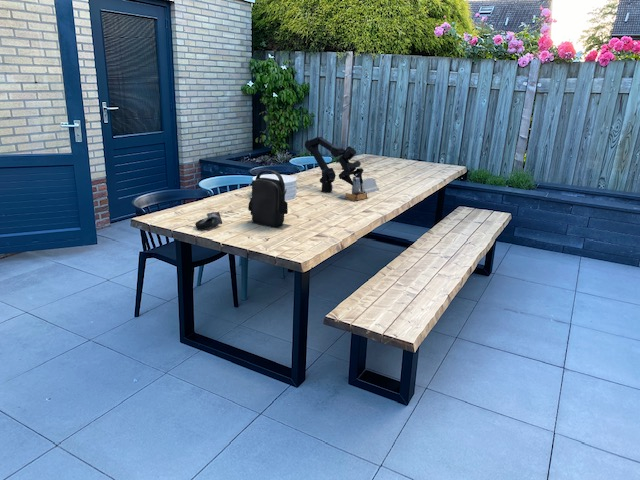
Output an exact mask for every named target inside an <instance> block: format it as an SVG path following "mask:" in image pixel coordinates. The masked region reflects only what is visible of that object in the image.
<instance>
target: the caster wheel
mask: <svg viewBox="0 0 640 480" xmlns="http://www.w3.org/2000/svg"><path fill="white" fill-rule="evenodd" d="M206 216H207V217H204V218H202V219H200V220H198V221H196V222H195V225H194V226H195V228H196V230H199V231H203V230H207V229H208V230H214V229H216V228H217V227H218V226H219V225H223V224H224V223H223V220H222V217H221V214H220V212H219V211H215V212H209V213H206Z"/></svg>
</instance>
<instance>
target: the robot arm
mask: <svg viewBox="0 0 640 480" xmlns="http://www.w3.org/2000/svg"><path fill="white" fill-rule="evenodd" d="M319 145H320V146H321V147H323V148H324V149H326V150H327V151H328V152H329V153H330V154H331V155H332V156H333V157H334V158H336V161H335V163H336V164H340V166H341V170H342V171H341V172H340V173H339V174H338V178H339V179H340V180H342V181H344V182H346V183H347V184H349V185H351V187H352V186H353V185H354V184H353V182H352V181H353V179H352V178H351V176H352V175H353V177H360V183H361V184H362V183H363V177H362V175H363V173H364V171H365V170H364V169H363V168H362V167H361V161H360V160H355V162H350V160H351V159H353V158H355V156H356V154H357V150H356V149H354V148H353V147H352V146H350V145H349V146H347V148H346V149H344V148H343V147H341V146H338V145H334V144H333V143H331V142H330V141H328V140H326V138H324V137H323V136H318V137H317V136H315V138H311V139H307V140H306V141H305V142H304V147H305V148H306V150H307V151H308V152H309V153H311V154H312V156H313V158H314V160H315V162H316V163H317V165H318V166H319V169H320V170H321V177H320V179H319V183H321V191H320V192H321V193H328V194H329V193H332V191H333V184H332V183H334V182H335V179H336V176H337V175H336V172H335V170H334V168H332V167H329V166H328V164H327V163H326V161H325V159H324V157H323V155H322V154H321V152H320V150H319Z"/></svg>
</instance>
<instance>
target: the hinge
mask: <svg viewBox="0 0 640 480" xmlns="http://www.w3.org/2000/svg"><path fill="white" fill-rule="evenodd" d="M362 180H363V183H362V184H361V183H359V192H363V193H367V194H370V193H373V192H378V191H380V187H379V186H378V184H377V181H376V179H375V178H374V177H367V178H364V179H363V178H362Z"/></svg>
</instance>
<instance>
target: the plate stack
mask: <svg viewBox="0 0 640 480" xmlns="http://www.w3.org/2000/svg"><path fill="white" fill-rule="evenodd" d="M280 175H281V176H282V178H283V181H284V184H285V191H286V189H287V191H286V194H285V201H286V202H287V201H291V200H294V199H296V198H297V189H298V188H297V181H298V179H297V177H296V176H293V175H288V174H280ZM256 177H257V175H256V176H253V177H252V181H253V180H254V181H255V180H256ZM260 178H270V179H275V180H279V179H278V177H277V176H276V175H275V174H274V173H271V174H269V173H268V174H262V175H261V176H260ZM252 181H251V182H252Z"/></svg>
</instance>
